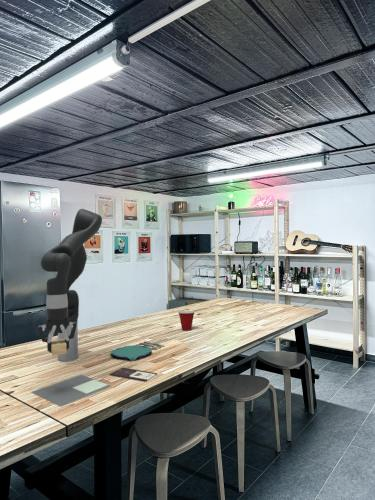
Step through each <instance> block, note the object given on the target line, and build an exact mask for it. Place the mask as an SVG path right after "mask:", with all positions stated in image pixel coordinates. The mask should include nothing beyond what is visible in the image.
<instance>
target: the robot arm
mask: <svg viewBox="0 0 375 500" xmlns="http://www.w3.org/2000/svg"><path fill="white" fill-rule="evenodd" d="M102 221H103V218H102V215H100V214H98V213H96V212H93V211H91V210H88V209H85V208H80V209H78V211H77V212H76V215H75V216H74V221H73V225H72V232H71V233H70V234H68V235H66V236H65V237H64V238H63V239H62V240H61V242H59V243H58V244H57V245H56V246H54V247H52V248H51V249H49V250H48V251H47V252H45V253H44V255H42V257H41V261H40V266H41V268H42V270H44V272H48V273H50V272H51V273H56V276H55V277H53V278H49V279H48V280H47V281H46V299H45V300H46V304H45V305H46V322H45V324H42V325H40V324H39V325H38V327H37V328H38V333H39V335H40V338H41V341H42V343H47V344H46V346H47V348H46V350H47V352H49V353H50V354H52V353H51V344H52V343H51V341H52V340H53V337H54V335H57V339H56V340H60V339H64V340H65V342H66V351H67V354H60V355H57V359H58V361H59V362H71V361H75V360H77V359H78V358H79V333H78V332H79V331H78V330H79V328H78V327H79V326H78V321H79V320H78V319H79V314H80V313H79V312H80V311H79V310H80V309H79V307H80V298H79V294H78V292H77V291H76V290H75V289H71V286H72V285H73V284H74V282H75V281H76V280H78V278H79V277H81V275H82V274H83V272H84V270H85V267H86V263H87V260H88V258H87V257H88V256H87V255H88V254H87V252H86V249H85V246H84V244H85V243H87V241H89V240H90V239H91V238H92V237H94V236H95V235H96V234H97V233H98V231H99V230H100V229H101V226H102ZM46 329H47V330H48V331H49V333H48V336H47V337H45V333H44V331H45V330H46Z"/></svg>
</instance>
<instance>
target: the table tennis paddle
mask: <svg viewBox="0 0 375 500" xmlns="http://www.w3.org/2000/svg"><path fill="white" fill-rule="evenodd" d="M148 346H149V347H148ZM162 347H163V348H165V347H166V346H165V345H163V344H159V343H152V342H149V341H146V340H145V341H143V342H139V344H135V345H134V344H133V345H132V344H131V345H124V346H121V347H117V348H115V349H113V350H111V351H110V356H113V357H115V358H119V359H129V360H130V361H131V362H134V361H135V360H137V359H138V358H143V357H147V356H148V355H150V354H152V353H153V351H152V350H154V351H155V350H158V348H159V349H161V348H162Z"/></svg>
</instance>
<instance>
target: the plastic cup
mask: <svg viewBox="0 0 375 500" xmlns="http://www.w3.org/2000/svg"><path fill="white" fill-rule="evenodd" d="M177 313H178V315H179V320H180V325H181V329H182V331H184V332H188V331H189V332H190V331H191V330H192V327H193V319H194V315H195V313H196V311H194V310H180V311H177Z"/></svg>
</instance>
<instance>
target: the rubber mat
mask: <svg viewBox="0 0 375 500" xmlns="http://www.w3.org/2000/svg"><path fill="white" fill-rule="evenodd" d="M111 387H112V385H111V384H108V383H105V382H103V381H100V380H97V379H94V378H91V377H89V376H86V375H83V374H79V375H76V376H74V377H71V378H68V379H67V378H66V379H63V380H62V381H59V382H55V383H53V384H50V385H47V386H45V387H42V388H38V389H36V390H33V391H31V392H30V393H32V394H34V395H35V396H38V397H40V398H42V399H44V400H46V401H47V402H50V403H51V404H54V405H56V406H57V407H60V408H62V407H63V406H66V405H68V404H71V403H72V402H76V401H79V400H81V399H82V398H83V399H84V398H86V397H88V396H91V395H93V394H96V393H98V392H100V391H103V390H105V389H108V388H111Z"/></svg>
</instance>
